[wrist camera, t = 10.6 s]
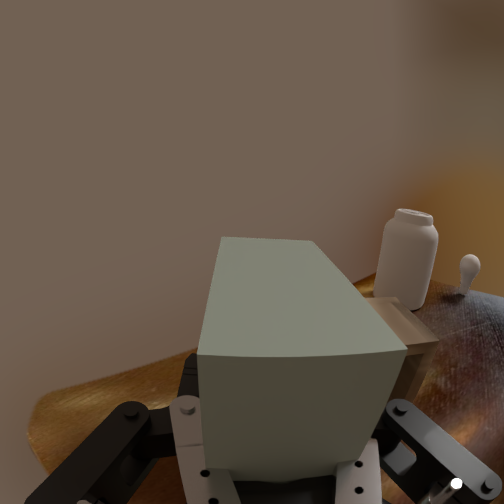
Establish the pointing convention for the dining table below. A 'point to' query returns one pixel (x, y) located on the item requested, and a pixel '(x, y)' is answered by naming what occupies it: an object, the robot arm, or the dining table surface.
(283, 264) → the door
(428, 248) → the can
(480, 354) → the dining table surface
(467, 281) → the lightbulb
